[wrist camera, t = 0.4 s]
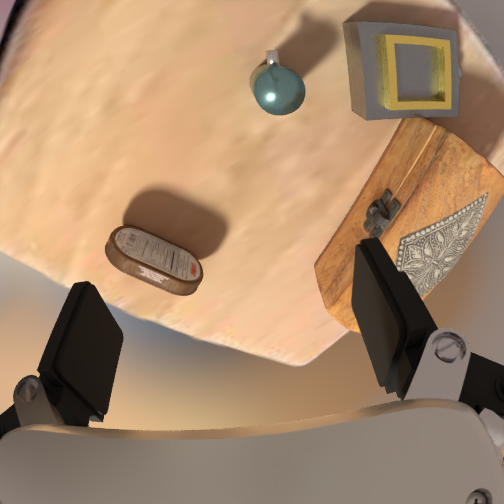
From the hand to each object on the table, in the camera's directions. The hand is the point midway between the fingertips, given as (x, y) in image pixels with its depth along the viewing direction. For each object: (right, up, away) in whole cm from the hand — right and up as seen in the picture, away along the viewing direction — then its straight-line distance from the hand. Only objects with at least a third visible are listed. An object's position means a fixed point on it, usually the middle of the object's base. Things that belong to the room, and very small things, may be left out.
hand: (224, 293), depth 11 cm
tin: (-13, +3, +37) cm, 40 cm away
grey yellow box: (+20, +26, +22) cm, 39 cm away
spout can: (+3, +22, +24) cm, 33 cm away
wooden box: (+23, +8, +36) cm, 44 cm away
